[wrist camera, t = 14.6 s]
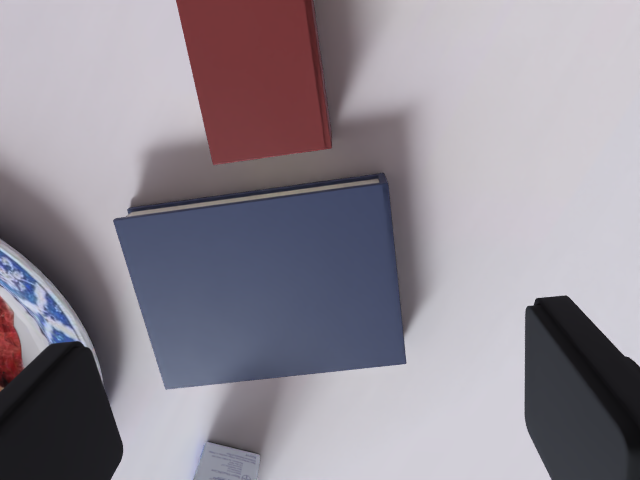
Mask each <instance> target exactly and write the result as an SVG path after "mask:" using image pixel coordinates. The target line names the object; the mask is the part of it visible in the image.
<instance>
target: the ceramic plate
mask: <svg viewBox="0 0 640 480" xmlns="http://www.w3.org/2000/svg"><path fill="white" fill-rule="evenodd" d="M73 341H79V342H81V343H82V344H83V345H84V346H85V347H88V348H90V349H91V351H92V353H93V356H94V359H95V362H96V365H97V368H98V371H99V374H100V377H101V380H102V383H103V377H102V373H101V369H100V364H99V361H98V358H97V355H96V352H95V349H94V347H93V345H92V342H91V340H90V338H89V336H88V334H87V332H86V330H85V328H84V326H83V325H82V323H81V321H80V319H79V318H78V316H77V314H76V313H75V311H74V310H73V309H72V307H71V306H70V304H69V303H68V302H67V300H66V299H65V298H64V296H63V295H62V294H61V293H60V292H59V290H58V289H57V288H56V287H55V286H54V284H53V283H52V282H51V281H50V280H49V279H48V278H47V277H46V276H45V275H44V274H43V273H42V272H41V271H40V270H39V269H38V268H37V267H36V266H34V265H33V264H32V263H31V262H30V261H29V260H27V259H26V258H25V257H24V256H23V255H22V254H20V253H19V252H18V251H16V250H15V249H14V248H12V247H11V246H10V245H8V244H7V243H6V242H4V241H3V240H1V239H0V391H1V390H3V389H4V388H5V387H6V386H7V385H8V384H9V383H10V382H11V381H12V380H13V379H14V378H15V377H16V376H17V375H18V374H19V373H20V372H21V371H22V370H23V369H24V368H25V367H27V366H28V365H29V364H30V363H31V362H32V361H33V360H34V359H35V358H36V357H37V356H38V355H39V354H40V353H41V352H42V351H43V350H44V349H45V348H46V347H47V346H49V345H50V344H53V343H62V342H73ZM103 386H104V384H103Z"/></svg>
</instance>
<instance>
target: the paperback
mask: <svg viewBox="0 0 640 480" xmlns="http://www.w3.org/2000/svg"><path fill="white" fill-rule="evenodd" d="M176 2H177V7H178V11H179V16H180V20H181V24H182V29H183V33H184V38H185V42H186V47H187V51H188V56H189V60H190V64H191V69H192V73H193V78H194V82H195V87H196V91H197V95H198V100H199V104H200V109H201V113H202V118H203V122H204V127H205V131H206V135H207V140H208V144H209V149H210V153H211V158H212V162H213V165H218V164H225V163H232V162H239V161H246V160H253V159H260V158H267V157H274V156H281V155H288V154H296V153H303V152H310V151H317V150H324V149H331V148H332V133H331V125H330V118H329V111H328V104H327V96H326V89H325V82H324V74H323V67H322V60H321V52H320V45H319V38H318V30H317V23H316V16H315V8H314V1H313V0H176Z"/></svg>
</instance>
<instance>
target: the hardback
mask: <svg viewBox="0 0 640 480" xmlns="http://www.w3.org/2000/svg"><path fill="white" fill-rule="evenodd" d="M127 210H128V215H127V216H126V217H121V218H116V219H114V220H113V222H114V225H115V228H116V231H117V235H118V238H119V241H120V244H121V248H122V251H123V254H124V257H125V260H126V264H127V267H128V270H129V273H130V277H131V280H132V283H133V286H134V289H135V293H136V296H137V299H138V302H139V306H140V309H141V312H142V315H143V319H144V322H145V325H146V328H147V331H148V335H149V338H150V341H151V344H152V348H153V351H154V354H155V357H156V361H157V364H158V367H159V370H160V373H161V377H162V380H163V383H164V386H165V389H175V388H184V387H194V386H203V385H212V384H222V383H231V382H240V381H250V380H259V379H269V378H278V377H287V376H297V375H306V374H315V373H325V372H334V371H344V370H353V369H362V368H372V367H381V366H390V365H400V364H406V355H405V346H404V336H403V326H402V316H401V306H400V296H399V286H398V276H397V266H396V256H395V246H394V237H393V227H392V217H391V207H390V197H389V187H388V182H387V180H386V177H385V175H384V173H380V174H372V175H365V176H358V177H350V178H343V179H336V180H328V181H321V182H314V183H307V184H299V185H292V186H285V187H277V188H270V189H263V190H255V191H248V192H241V193H233V194H226V195H219V196H212V197H204V198H197V199H190V200H182V201H175V202H168V203H160V204H153V205H146V206H138V207H131V208H129V209H127Z"/></svg>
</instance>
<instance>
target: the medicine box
mask: <svg viewBox="0 0 640 480" xmlns="http://www.w3.org/2000/svg"><path fill="white" fill-rule="evenodd" d="M259 464H260V455H259V454H255V453H251V452H247V451H243V450H239V449H235V448H231V447H227V446H222V445H218V444H214V443H210V442H206V443H205V445H204V448H203V451H202V454H201V457H200V461H199V464H198V467H197V470H196V473H195V477H194V480H257V478H258V471H259Z"/></svg>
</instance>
